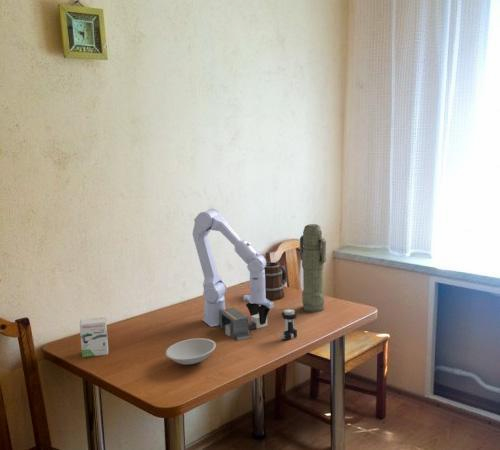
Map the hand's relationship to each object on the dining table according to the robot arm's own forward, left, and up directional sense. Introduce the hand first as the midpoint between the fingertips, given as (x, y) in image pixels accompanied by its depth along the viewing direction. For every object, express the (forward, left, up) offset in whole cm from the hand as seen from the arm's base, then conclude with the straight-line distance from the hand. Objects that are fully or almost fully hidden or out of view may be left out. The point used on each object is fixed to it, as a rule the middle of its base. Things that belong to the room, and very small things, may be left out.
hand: (258, 322), depth 195 cm
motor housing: (0, -11, -1) cm, 11 cm away
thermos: (-6, +28, -2) cm, 29 cm away
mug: (-30, +23, -2) cm, 38 cm away
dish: (+18, -34, -2) cm, 38 cm away
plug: (+1, -6, -1) cm, 6 cm away
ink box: (-6, -60, -2) cm, 60 cm away
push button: (+16, +3, -2) cm, 16 cm away
